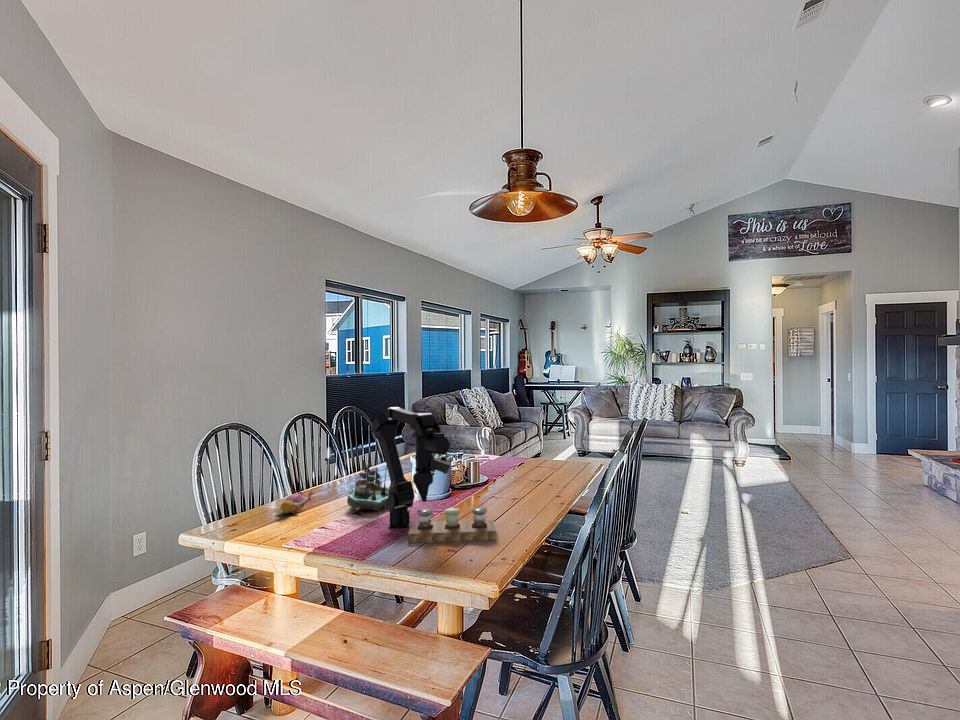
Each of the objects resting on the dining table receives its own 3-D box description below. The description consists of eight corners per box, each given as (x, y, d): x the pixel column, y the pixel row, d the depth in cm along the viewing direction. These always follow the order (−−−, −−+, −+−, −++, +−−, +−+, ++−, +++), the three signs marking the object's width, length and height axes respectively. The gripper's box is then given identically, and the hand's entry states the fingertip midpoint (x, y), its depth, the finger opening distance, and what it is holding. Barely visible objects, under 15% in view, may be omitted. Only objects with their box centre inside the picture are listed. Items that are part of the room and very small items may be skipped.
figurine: (319, 488, 227) (298, 500, 197) (319, 504, 226) (298, 519, 196) (292, 488, 226) (266, 501, 196) (291, 505, 226) (266, 520, 196)
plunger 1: (417, 527, 173) (416, 513, 173) (418, 522, 178) (417, 508, 178) (432, 527, 173) (432, 512, 173) (433, 522, 178) (432, 508, 178)
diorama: (343, 514, 200) (347, 463, 200) (355, 498, 225) (359, 453, 225) (393, 518, 201) (397, 467, 201) (399, 501, 226) (403, 456, 226)
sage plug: (444, 526, 173) (444, 512, 173) (445, 522, 178) (444, 508, 178) (459, 526, 173) (459, 512, 173) (459, 521, 178) (459, 507, 178)
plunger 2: (472, 526, 173) (471, 511, 173) (471, 521, 178) (471, 507, 178) (487, 525, 174) (487, 511, 174) (486, 520, 179) (486, 507, 179)
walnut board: (408, 543, 169) (408, 533, 169) (411, 530, 181) (411, 522, 181) (495, 540, 170) (495, 531, 170) (493, 528, 182) (493, 519, 182)
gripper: (448, 455, 166) (449, 505, 166) (448, 446, 185) (449, 490, 185) (412, 456, 166) (413, 506, 166) (416, 447, 184) (417, 491, 184)
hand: (425, 498), depth 175 cm, fingers open, 8 cm apart
